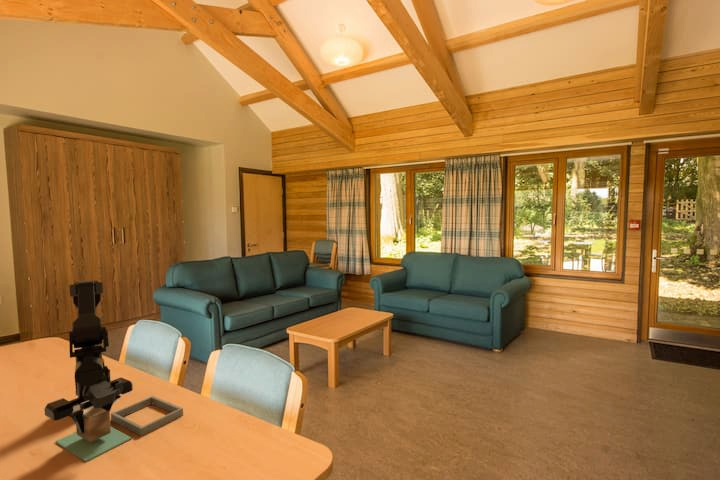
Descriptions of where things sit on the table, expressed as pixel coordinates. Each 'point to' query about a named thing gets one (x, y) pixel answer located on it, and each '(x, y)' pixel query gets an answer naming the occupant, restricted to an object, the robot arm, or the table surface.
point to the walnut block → (95, 423)
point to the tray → (140, 430)
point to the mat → (92, 444)
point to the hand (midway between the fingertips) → (93, 428)
